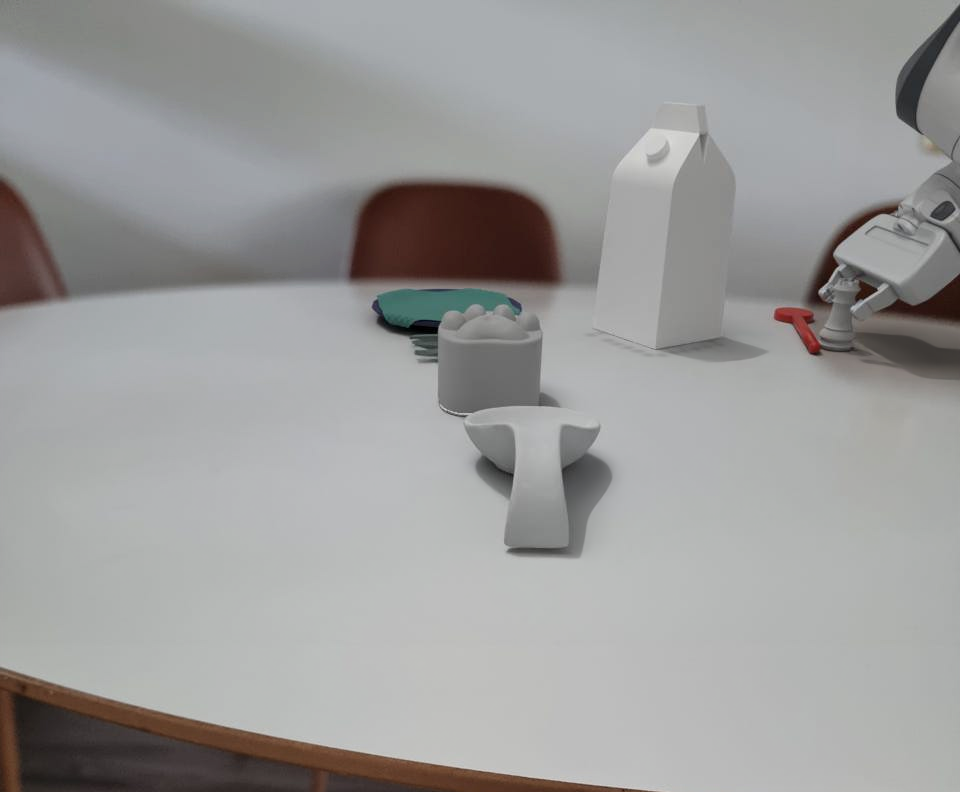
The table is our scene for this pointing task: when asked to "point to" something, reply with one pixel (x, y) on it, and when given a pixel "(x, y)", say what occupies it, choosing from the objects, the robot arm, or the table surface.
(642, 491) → the table surface
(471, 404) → the lumpy-topped squat cylinder
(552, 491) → the spoon rest
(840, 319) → the rook chess piece
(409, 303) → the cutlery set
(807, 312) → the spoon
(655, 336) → the milk
